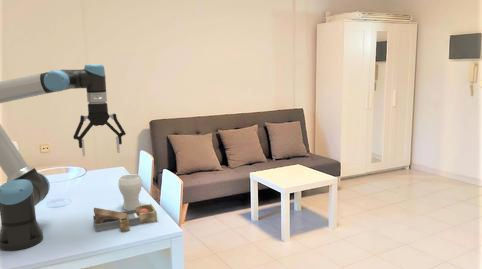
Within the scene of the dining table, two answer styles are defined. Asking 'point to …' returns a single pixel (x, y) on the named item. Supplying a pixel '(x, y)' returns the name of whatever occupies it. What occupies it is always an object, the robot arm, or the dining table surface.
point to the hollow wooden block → (124, 224)
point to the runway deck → (117, 221)
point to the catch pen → (147, 214)
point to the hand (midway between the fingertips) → (101, 154)
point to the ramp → (108, 215)
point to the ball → (143, 211)
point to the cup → (130, 190)
